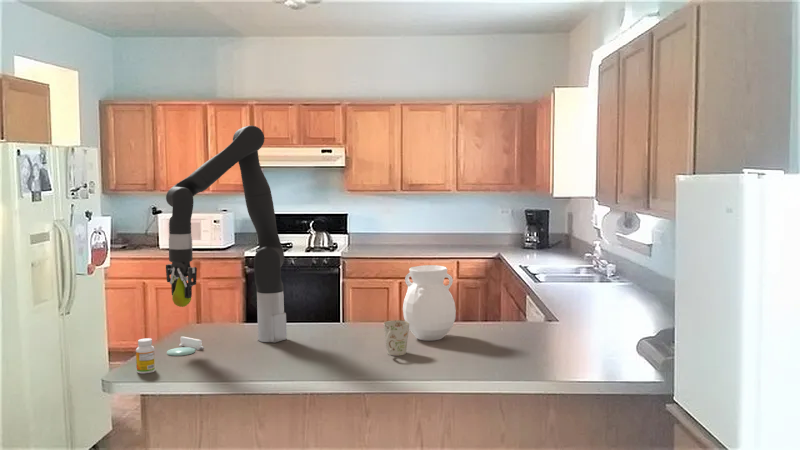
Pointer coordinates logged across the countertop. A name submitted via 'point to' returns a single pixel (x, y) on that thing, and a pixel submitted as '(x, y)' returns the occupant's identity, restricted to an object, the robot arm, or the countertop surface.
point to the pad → (181, 351)
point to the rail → (191, 343)
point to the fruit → (180, 294)
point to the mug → (396, 337)
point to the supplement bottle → (145, 356)
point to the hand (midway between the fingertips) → (181, 296)
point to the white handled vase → (429, 302)
